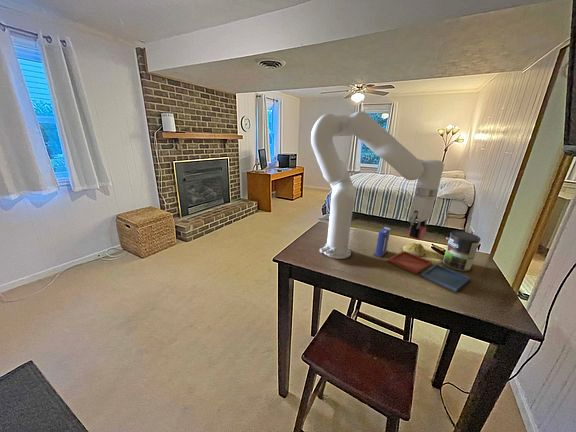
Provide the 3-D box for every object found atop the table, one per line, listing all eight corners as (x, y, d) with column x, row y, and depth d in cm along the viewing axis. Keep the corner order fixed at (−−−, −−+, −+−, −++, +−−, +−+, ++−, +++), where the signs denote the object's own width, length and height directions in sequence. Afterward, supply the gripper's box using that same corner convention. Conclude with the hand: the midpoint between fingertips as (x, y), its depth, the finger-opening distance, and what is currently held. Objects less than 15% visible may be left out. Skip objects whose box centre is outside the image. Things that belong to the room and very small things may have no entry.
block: (419, 240, 97) (421, 229, 95) (408, 236, 100) (410, 226, 99) (424, 237, 99) (426, 227, 98) (413, 234, 103) (415, 224, 101)
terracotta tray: (416, 274, 96) (416, 271, 95) (387, 261, 105) (388, 258, 104) (430, 265, 103) (431, 261, 103) (403, 253, 112) (404, 250, 112)
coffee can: (450, 271, 99) (460, 239, 95) (437, 258, 109) (445, 229, 105) (476, 272, 99) (487, 241, 94) (461, 260, 109) (469, 231, 104)
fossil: (406, 234, 119) (429, 239, 114) (404, 243, 122) (426, 249, 117) (401, 247, 111) (426, 253, 106) (399, 257, 114) (423, 263, 109)
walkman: (381, 257, 108) (385, 232, 105) (374, 255, 110) (379, 230, 106) (386, 251, 114) (391, 227, 110) (380, 249, 116) (385, 226, 112)
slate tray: (455, 293, 85) (457, 289, 85) (420, 276, 94) (421, 273, 94) (469, 280, 93) (470, 277, 92) (435, 267, 102) (436, 263, 101)
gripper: (426, 188, 101) (417, 228, 107) (405, 192, 92) (397, 237, 97) (445, 191, 96) (435, 234, 102) (426, 197, 86) (415, 243, 92)
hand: (416, 235), depth 99 cm, fingers closed on block, 4 cm apart
